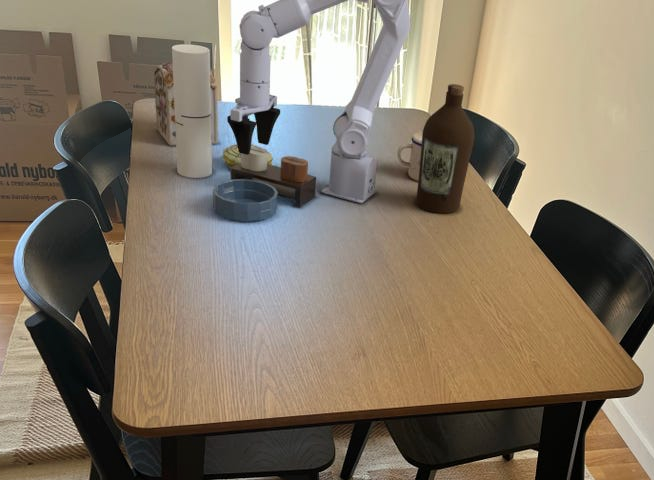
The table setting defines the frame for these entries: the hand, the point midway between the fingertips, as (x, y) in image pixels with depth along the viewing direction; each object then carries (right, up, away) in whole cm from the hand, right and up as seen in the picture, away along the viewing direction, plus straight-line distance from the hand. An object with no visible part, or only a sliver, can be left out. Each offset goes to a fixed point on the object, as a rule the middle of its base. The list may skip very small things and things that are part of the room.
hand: (253, 148), depth 153 cm
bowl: (-1, -14, -5) cm, 15 cm away
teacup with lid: (+34, 0, +22) cm, 41 cm away
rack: (+3, -8, +4) cm, 10 cm away
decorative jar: (-21, +10, +25) cm, 34 cm away
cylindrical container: (-14, -3, +8) cm, 17 cm away
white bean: (0, -3, +2) cm, 4 cm away
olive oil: (+38, -10, +9) cm, 40 cm away
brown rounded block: (+8, -6, 0) cm, 10 cm away
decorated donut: (-4, 0, +15) cm, 15 cm away
